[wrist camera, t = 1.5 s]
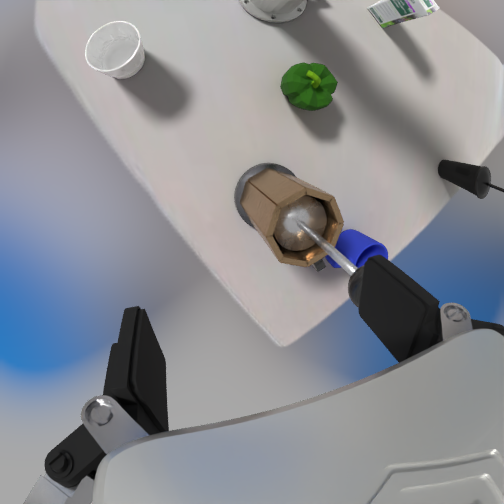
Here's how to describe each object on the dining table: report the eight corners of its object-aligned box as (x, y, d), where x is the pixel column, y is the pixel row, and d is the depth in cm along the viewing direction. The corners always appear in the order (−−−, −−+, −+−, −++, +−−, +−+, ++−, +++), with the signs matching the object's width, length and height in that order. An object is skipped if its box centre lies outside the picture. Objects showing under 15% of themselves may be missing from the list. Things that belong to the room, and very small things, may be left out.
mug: (315, 225, 55) (340, 245, 46) (364, 224, 58) (392, 242, 49) (310, 262, 59) (332, 287, 50) (357, 258, 61) (383, 279, 53)
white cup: (139, 85, 37) (128, 75, 28) (97, 79, 34) (77, 69, 26) (155, 43, 34) (149, 24, 26) (112, 38, 32) (97, 19, 23)
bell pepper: (326, 95, 45) (356, 92, 36) (293, 119, 45) (319, 119, 37) (300, 59, 41) (326, 47, 32) (265, 82, 41) (285, 72, 33)
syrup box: (365, 7, 37) (411, -11, 24) (380, 0, 36) (424, -17, 23) (381, 28, 40) (429, 15, 27) (395, 20, 39) (441, 8, 26)
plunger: (312, 184, 35) (411, 239, 19) (331, 230, 39) (419, 303, 23) (261, 213, 35) (332, 294, 19) (286, 258, 39) (354, 350, 23)
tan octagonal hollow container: (281, 151, 47) (329, 165, 32) (312, 215, 54) (361, 253, 39) (221, 184, 48) (242, 214, 32) (259, 247, 54) (291, 298, 39)
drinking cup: (436, 186, 59) (497, 213, 41) (433, 158, 55) (498, 179, 38) (452, 178, 59) (510, 201, 42) (450, 151, 56) (511, 170, 38)
